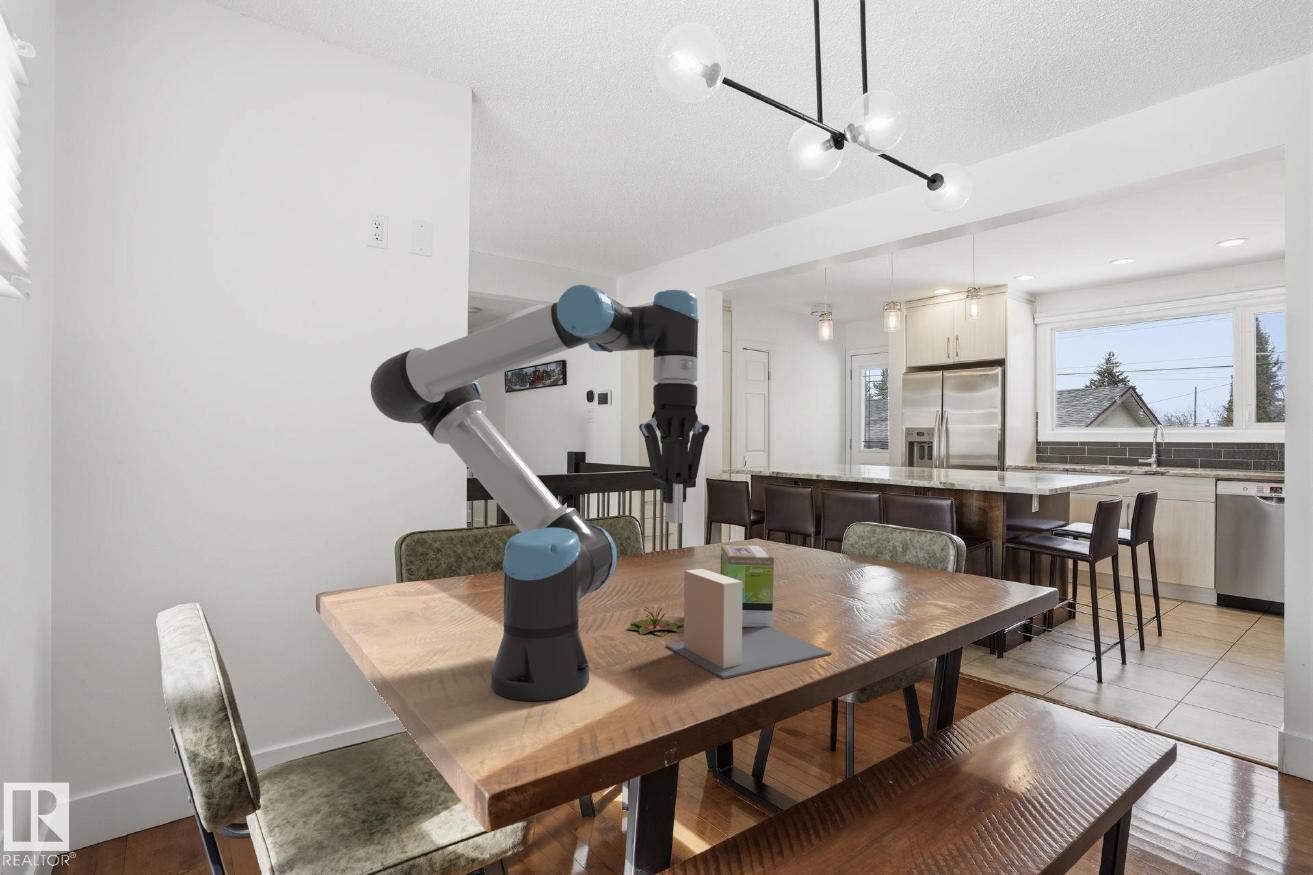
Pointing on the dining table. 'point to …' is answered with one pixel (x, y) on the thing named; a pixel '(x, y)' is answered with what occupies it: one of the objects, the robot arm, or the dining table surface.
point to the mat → (759, 652)
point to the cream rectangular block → (713, 617)
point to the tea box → (751, 581)
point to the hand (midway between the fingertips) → (674, 522)
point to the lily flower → (654, 624)
